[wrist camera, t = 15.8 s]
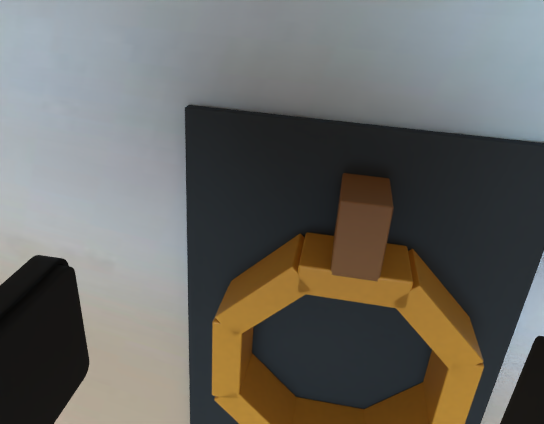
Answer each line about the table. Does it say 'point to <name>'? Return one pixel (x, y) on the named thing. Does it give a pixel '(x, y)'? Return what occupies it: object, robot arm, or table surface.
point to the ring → (351, 287)
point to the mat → (322, 220)
